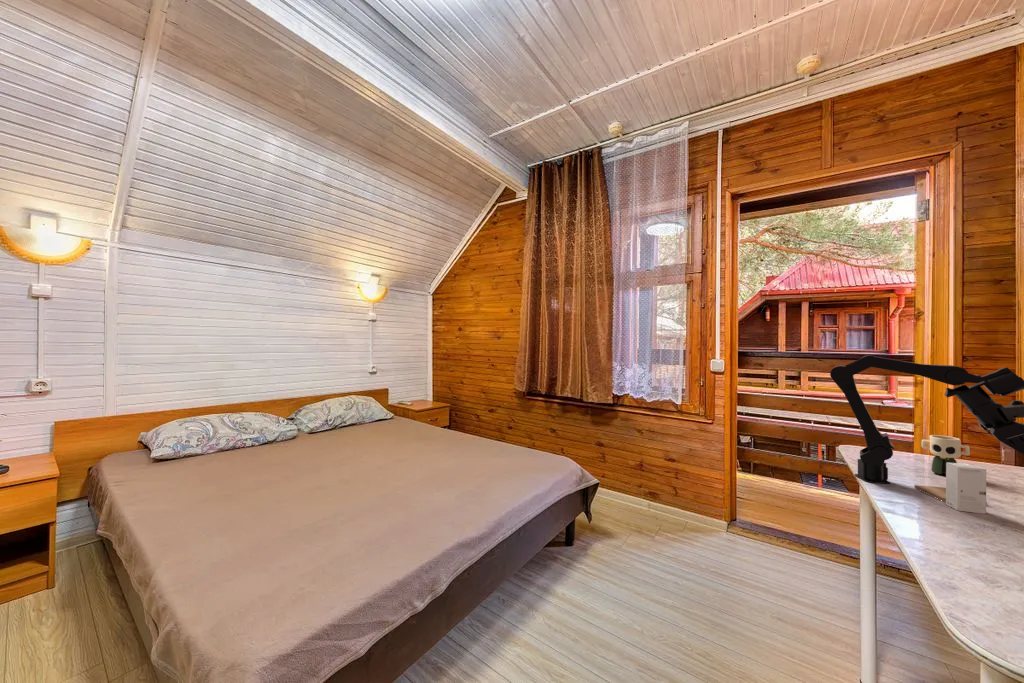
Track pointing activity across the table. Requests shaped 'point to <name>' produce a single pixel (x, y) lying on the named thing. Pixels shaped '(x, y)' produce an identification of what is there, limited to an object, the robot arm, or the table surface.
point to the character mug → (944, 451)
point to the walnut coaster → (934, 491)
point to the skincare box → (966, 487)
